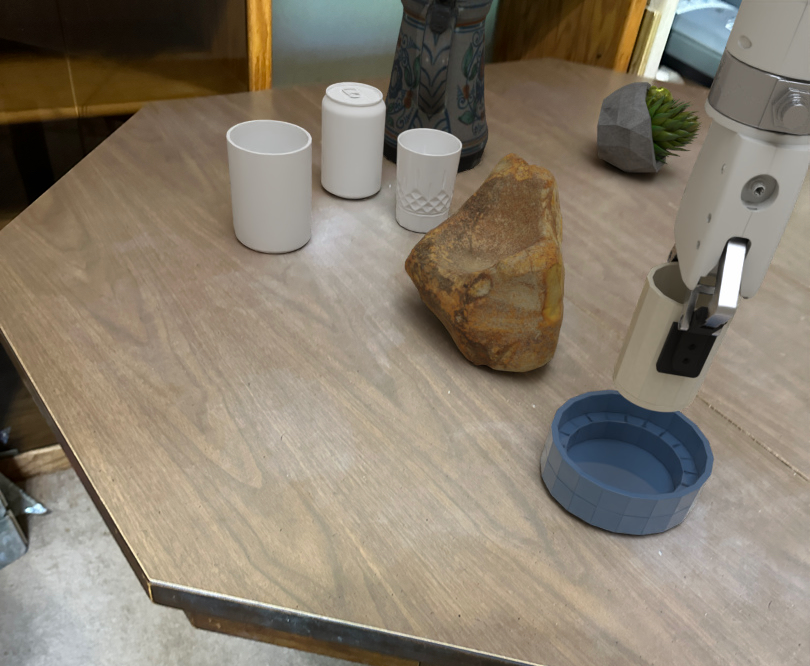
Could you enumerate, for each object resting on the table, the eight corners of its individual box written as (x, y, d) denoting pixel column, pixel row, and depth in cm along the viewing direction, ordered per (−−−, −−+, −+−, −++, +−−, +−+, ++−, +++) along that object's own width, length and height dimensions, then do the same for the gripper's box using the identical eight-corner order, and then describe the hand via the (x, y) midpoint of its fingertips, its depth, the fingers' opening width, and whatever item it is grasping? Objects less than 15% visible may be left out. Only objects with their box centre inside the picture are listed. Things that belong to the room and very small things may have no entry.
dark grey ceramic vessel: (458, 125, 123) (485, -70, 104) (511, 180, 112) (551, -29, 93) (360, 131, 118) (369, -73, 99) (404, 188, 107) (424, -30, 88)
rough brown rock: (408, 265, 95) (408, 139, 83) (543, 269, 94) (563, 142, 83) (399, 387, 80) (398, 254, 68) (559, 392, 79) (586, 259, 68)
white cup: (412, 240, 97) (420, 159, 90) (380, 212, 101) (385, 133, 94) (462, 229, 100) (474, 149, 93) (429, 202, 105) (438, 124, 97)
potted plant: (610, 116, 123) (710, 110, 117) (596, 193, 122) (695, 192, 116) (599, 64, 111) (709, 55, 105) (583, 149, 111) (692, 145, 105)
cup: (686, 365, 65) (729, 267, 58) (702, 416, 61) (751, 317, 54) (607, 356, 65) (641, 257, 58) (617, 407, 60) (656, 306, 54)
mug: (226, 250, 92) (217, 148, 83) (247, 204, 100) (241, 107, 91) (305, 260, 92) (304, 159, 83) (320, 213, 100) (321, 117, 91)
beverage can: (333, 205, 102) (335, 107, 93) (312, 178, 106) (312, 82, 97) (389, 198, 104) (396, 103, 95) (367, 172, 109) (371, 78, 100)
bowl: (677, 438, 76) (696, 398, 72) (706, 547, 67) (729, 507, 63) (535, 423, 76) (546, 382, 72) (544, 530, 66) (558, 489, 62)
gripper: (874, 163, 41) (735, 422, 54) (807, 57, 52) (706, 293, 65) (733, 141, 41) (629, 405, 54) (697, 41, 52) (618, 279, 66)
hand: (672, 342), depth 60 cm, fingers closed on cup, 7 cm apart
